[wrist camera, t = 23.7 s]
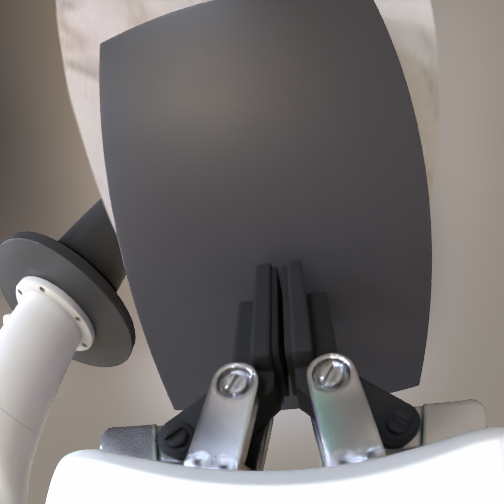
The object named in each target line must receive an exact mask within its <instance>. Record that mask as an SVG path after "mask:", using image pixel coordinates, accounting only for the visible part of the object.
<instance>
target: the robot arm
mask: <svg viewBox="0 0 504 504" xmlns="http://www.w3.org/2000/svg"><path fill="white" fill-rule="evenodd" d="M281 270H282V290H281V284H280V279H279V274H278V268H277V266H276V267H272V265H271V263H269V264H261V265H256V271H255V286H254V300H253V301H244V302H240V303H239V308H238V316H237V325H236V333H235V341H234V350H233V358H232V363H230V364H226V365H224V366H223V367H221V368H220V369H219V370H218V371H217V372H216V373H215V375H214V376H213V378H212V381H211V384H210V387H209V390H208V393H206V394H205V395H204V396H202V397H201V398H200V399H198V400H197V401H196V402H194V403H193V404H192V405H190V406H189V407H188V408H186V409H185V410H184V411H182V412H181V413H179V414H178V415H177V416H175V417H174V418H172V419H171V420H170V421H168V422H167V423H166V424H165V425H164V426H157V425H156V424H154V425H143V426H128V427H112V428H109V429H107V430H106V431H105V432H104V433H103V434H102V436H101V440H100V450H81V451H76V452H73V453H70V454H68V455H66V456H65V457H63V459H62V460H61V461H60V463H59V464H58V466H57V468H56V470H55V472H54V475H53V478H52V481H51V484H50V488H49V492H48V496H47V500H46V504H504V428H503V427H489V428H487V413H486V409H485V407H484V405H483V404H482V403H481V402H480V401H478V400H472V399H470V400H463V401H455V402H445V403H434V404H424V405H423V406H420V407H413V406H411V405H410V404H408V403H406V402H404V401H402V400H401V399H399V398H397V397H395V396H393V395H392V394H390V393H388V392H386V391H385V390H383V389H381V388H379V387H377V386H376V385H374V384H372V383H370V382H369V381H367V380H365V379H364V378H362V377H360V376H358V374H357V371H356V369H355V366H354V364H353V363H352V361H351V360H350V359H348V358H347V357H346V356H343V355H341V354H338V352H337V346H336V340H335V335H334V329H333V324H332V319H331V314H330V308H329V303H328V299H327V294H326V291H325V292H318V293H311V294H306V292H305V284H304V277H303V270H302V263H301V259H299V260H291V261H287V265H283V266H281ZM282 292H283V295H282ZM16 297H17V301H18V305H17V306H16V308H15V309H14V311H13V312H12V313H11V314H6V315H5V316H4V318H3V322H4V326H3V327H2V329H1V330H0V504H28V484H29V476H30V470H31V466H32V462H33V458H34V454H35V451H36V448H37V444H38V441H39V438H40V436H41V433H42V430H43V427H44V424H45V422H46V419H47V416H48V414H49V411H50V408H51V406H52V403H53V401H54V398H55V396H56V394H57V391H58V389H59V386H60V384H61V382H62V380H63V377H64V375H65V373H66V371H67V368H68V366H69V364H70V362H71V360H72V358H73V356H74V354H75V352H76V351H84V350H88V349H89V348H90V347H91V346H92V344H93V342H94V339H95V332H94V328H93V325H92V323H91V321H90V319H89V318H88V316H87V315H86V313H85V312H84V311H83V310H82V308H81V307H80V306H79V305H78V304H77V303H76V302H75V301H74V300H73V299H72V298H71V297H70V296H69V295H68V294H67V293H65V292H64V291H63V290H62V289H60V288H59V287H57V286H56V285H54V284H52V283H51V282H49V281H47V280H45V279H42V278H39V277H35V276H27V277H24V278H23V279H22V280H21V281H20V282H19V284H18V285H17V287H16ZM289 376H290V381H291V386H292V390H293V395H294V396H297V397H298V402H299V408H300V409H301V410H302V411H304V412H305V413H307V414H308V415H309V416H310V417H311V422H312V426H313V431H314V435H315V439H316V444H317V448H318V452H319V457H320V462H321V466H322V467H320V468H311V469H298V470H279V471H263V468H264V464H265V459H266V454H267V450H268V445H269V440H270V435H271V430H272V425H273V417H274V416H275V415H276V414H277V413H278V412H279V411H280V410H281V404H284V397H287V396H289Z"/></svg>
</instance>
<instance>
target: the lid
mask: <svg viewBox="0 0 504 504" xmlns="http://www.w3.org/2000/svg"><path fill="white" fill-rule="evenodd" d="M99 86H100V113H101V129H102V140H103V150H104V159H105V167H106V175H107V182H108V189H109V195H110V201H111V207H112V212H113V217H114V223H115V228H116V232H117V237H118V242H119V246H120V250H121V255H122V259H123V263H124V267H125V271H126V275H127V278H128V282H129V286H130V289H131V293H132V296H133V300H134V303H135V306H136V309H137V313H138V316H139V319H140V322H141V325H142V328H143V331H144V334H145V337H146V340H147V342H148V345H149V348H150V351H151V354H152V356H153V359H154V362H155V364H156V367H157V369H158V372H159V374H160V377H161V379H162V382H163V384H164V386H165V389H166V391H167V394H168V396H169V398H170V400H171V403H172V405H173V407H174V409H175V410H185V409H186V408H188V407H189V406H190V405H192V404H193V403H194V402H196V401H197V400H198V399H200V398H201V397H202V396H204V395H205V394H206V393H208V390H209V387H210V384H211V381H212V378H213V376H214V375H215V373H216V372H217V371H218V370H219V369H220V368H221V367H223V366H224V365H226V364H230V363H232V358H233V350H234V341H235V333H236V325H237V316H238V308H239V303H240V302H244V301H253V300H254V286H255V271H256V265H261V264H269V263H271V265H272V267H276V266H277V268H278V274H279V279H280V284H281V290H282V270H281V266H283V265H287V261H291V260H299V259H301V263H302V270H303V277H304V284H305V292H306V294H311V293H318V292H325V291H326V294H327V299H328V303H329V308H330V314H331V319H332V324H333V329H334V335H335V340H336V346H337V352H338V354H341V355H343V356H346V357H347V358H348V359H350V360H351V361H352V363H353V364H354V366H355V369H356V371H357V374H358V376H360V377H362V378H364V379H365V380H367V381H369V382H370V383H372V384H374V385H376V386H377V387H379V388H381V389H383V390H385V391H386V392H388V393H392V392H396V391H400V390H404V389H407V388H411V387H414V386H418V385H419V382H420V377H421V372H422V366H423V361H424V354H425V348H426V340H427V332H428V323H429V313H430V298H431V277H432V274H431V273H432V243H431V220H430V206H429V195H428V186H427V178H426V171H425V164H424V157H423V152H422V146H421V141H420V136H419V131H418V126H417V122H416V117H415V113H414V109H413V105H412V101H411V98H410V94H409V90H408V87H407V84H406V80H405V77H404V74H403V71H402V68H401V65H400V62H399V59H398V56H397V54H396V51H395V48H394V46H393V43H392V40H391V38H390V35H389V33H388V31H387V28H386V26H385V24H384V21H383V19H382V17H381V15H380V13H379V10H378V8H377V6H376V4H375V2H374V0H212V1H208V2H205V3H201V4H197V5H194V6H190V7H187V8H184V9H181V10H178V11H175V12H172V13H169V14H166V15H163V16H161V17H158V18H155V19H153V20H150V21H148V22H145V23H143V24H141V25H138V26H136V27H134V28H132V29H129V30H127V31H125V32H123V33H121V34H119V35H117V36H115V37H113V38H111V39H109V40H107V41H105V42H103V43H101V44H100V64H99ZM282 295H283V292H282ZM297 408H299V402H298V397H297V396H294V395H293V390H292V386H291V381H290V376H289V396H287V397H284V404H281V410H286V409H297Z"/></svg>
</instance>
